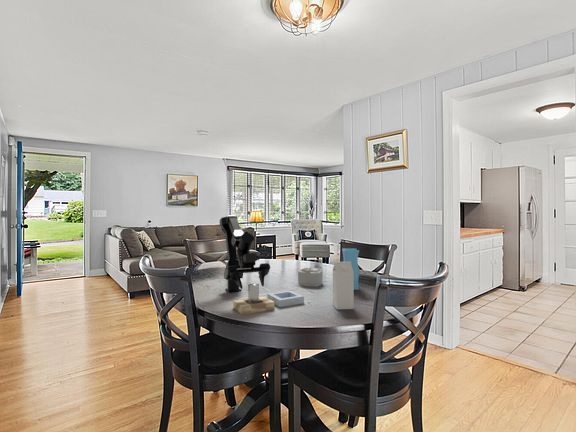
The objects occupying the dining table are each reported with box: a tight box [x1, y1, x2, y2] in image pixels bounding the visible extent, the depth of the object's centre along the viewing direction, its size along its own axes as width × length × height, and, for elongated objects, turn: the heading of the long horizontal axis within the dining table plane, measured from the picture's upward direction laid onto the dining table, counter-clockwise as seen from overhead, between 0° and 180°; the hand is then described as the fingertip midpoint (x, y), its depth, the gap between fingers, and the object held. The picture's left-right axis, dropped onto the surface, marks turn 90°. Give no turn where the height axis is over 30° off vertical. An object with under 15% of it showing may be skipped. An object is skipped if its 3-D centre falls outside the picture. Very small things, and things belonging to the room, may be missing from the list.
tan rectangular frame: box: [232, 295, 276, 316], centre depth 136 cm, size 10×14×3 cm
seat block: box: [266, 290, 305, 308], centre depth 146 cm, size 12×12×3 cm
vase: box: [341, 248, 361, 291], centre depth 170 cm, size 8×8×20 cm
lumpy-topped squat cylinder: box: [297, 266, 323, 288], centre depth 180 cm, size 10×13×9 cm
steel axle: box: [247, 282, 260, 304], centre depth 136 cm, size 4×4×10 cm
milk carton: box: [332, 261, 355, 311], centre depth 137 cm, size 7×7×19 cm
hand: (252, 287), depth 137 cm, fingers open, 9 cm apart
